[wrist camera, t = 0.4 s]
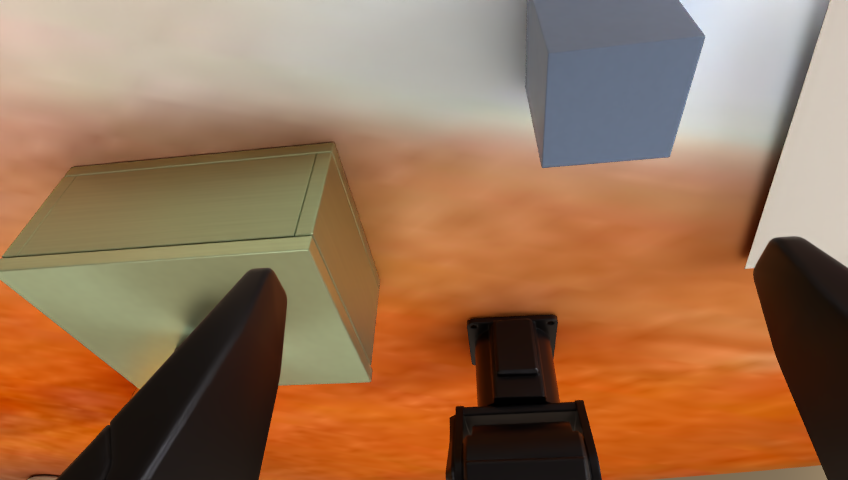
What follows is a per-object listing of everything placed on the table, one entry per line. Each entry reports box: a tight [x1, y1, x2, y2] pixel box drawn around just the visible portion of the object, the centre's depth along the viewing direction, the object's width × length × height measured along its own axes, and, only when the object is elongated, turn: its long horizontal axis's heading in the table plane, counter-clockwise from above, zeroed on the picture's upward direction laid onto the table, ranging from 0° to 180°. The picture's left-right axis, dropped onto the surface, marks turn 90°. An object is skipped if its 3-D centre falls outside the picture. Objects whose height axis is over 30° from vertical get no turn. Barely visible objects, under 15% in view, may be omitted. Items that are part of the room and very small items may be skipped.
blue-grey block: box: [525, 0, 705, 168], centre depth 18 cm, size 5×5×6 cm
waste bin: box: [2, 142, 380, 365], centre depth 28 cm, size 12×15×6 cm
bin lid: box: [0, 236, 372, 389], centre depth 24 cm, size 12×15×4 cm
